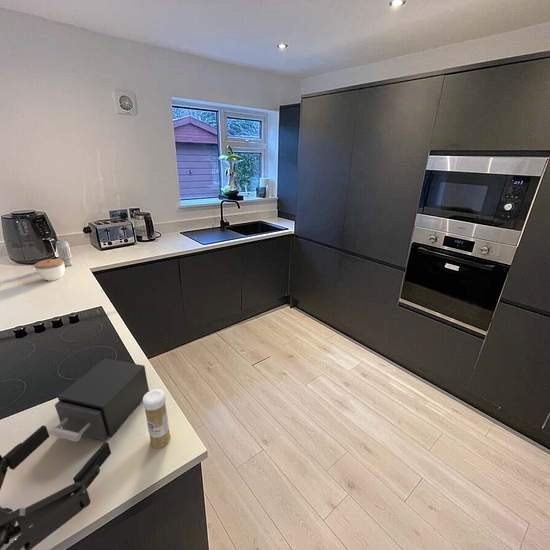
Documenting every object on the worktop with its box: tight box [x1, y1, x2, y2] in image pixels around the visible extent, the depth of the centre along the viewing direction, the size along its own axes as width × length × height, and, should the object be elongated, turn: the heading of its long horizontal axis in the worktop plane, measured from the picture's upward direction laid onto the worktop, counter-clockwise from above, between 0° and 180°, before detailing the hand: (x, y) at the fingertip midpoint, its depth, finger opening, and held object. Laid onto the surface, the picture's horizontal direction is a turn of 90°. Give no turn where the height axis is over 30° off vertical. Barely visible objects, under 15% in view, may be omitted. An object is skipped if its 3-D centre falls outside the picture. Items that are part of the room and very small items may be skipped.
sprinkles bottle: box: [142, 388, 172, 449], centre depth 65 cm, size 5×5×13 cm
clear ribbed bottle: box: [55, 239, 74, 267], centre depth 172 cm, size 6×6×15 cm
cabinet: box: [57, 357, 150, 438], centre depth 74 cm, size 15×13×10 cm
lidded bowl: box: [33, 258, 66, 282], centre depth 154 cm, size 13×13×11 cm
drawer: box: [48, 400, 107, 442], centre depth 70 cm, size 18×11×8 cm, turn 167°
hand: (76, 438), depth 53 cm, fingers open, 13 cm apart
